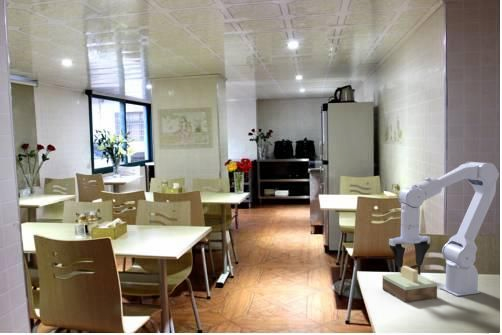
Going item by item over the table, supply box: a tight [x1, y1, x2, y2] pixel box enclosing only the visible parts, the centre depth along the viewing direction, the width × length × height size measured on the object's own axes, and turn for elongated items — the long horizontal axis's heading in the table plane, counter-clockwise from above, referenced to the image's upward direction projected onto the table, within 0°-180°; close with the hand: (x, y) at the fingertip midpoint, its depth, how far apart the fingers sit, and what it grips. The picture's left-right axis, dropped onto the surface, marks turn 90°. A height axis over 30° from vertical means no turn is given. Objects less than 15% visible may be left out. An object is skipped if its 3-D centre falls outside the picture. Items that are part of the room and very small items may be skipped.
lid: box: [382, 266, 438, 290], centre depth 135 cm, size 12×12×5 cm
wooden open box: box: [382, 277, 438, 303], centre depth 136 cm, size 12×12×4 cm
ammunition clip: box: [399, 245, 421, 275], centre depth 150 cm, size 11×2×12 cm, turn 128°
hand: (409, 265), depth 135 cm, fingers open, 7 cm apart
